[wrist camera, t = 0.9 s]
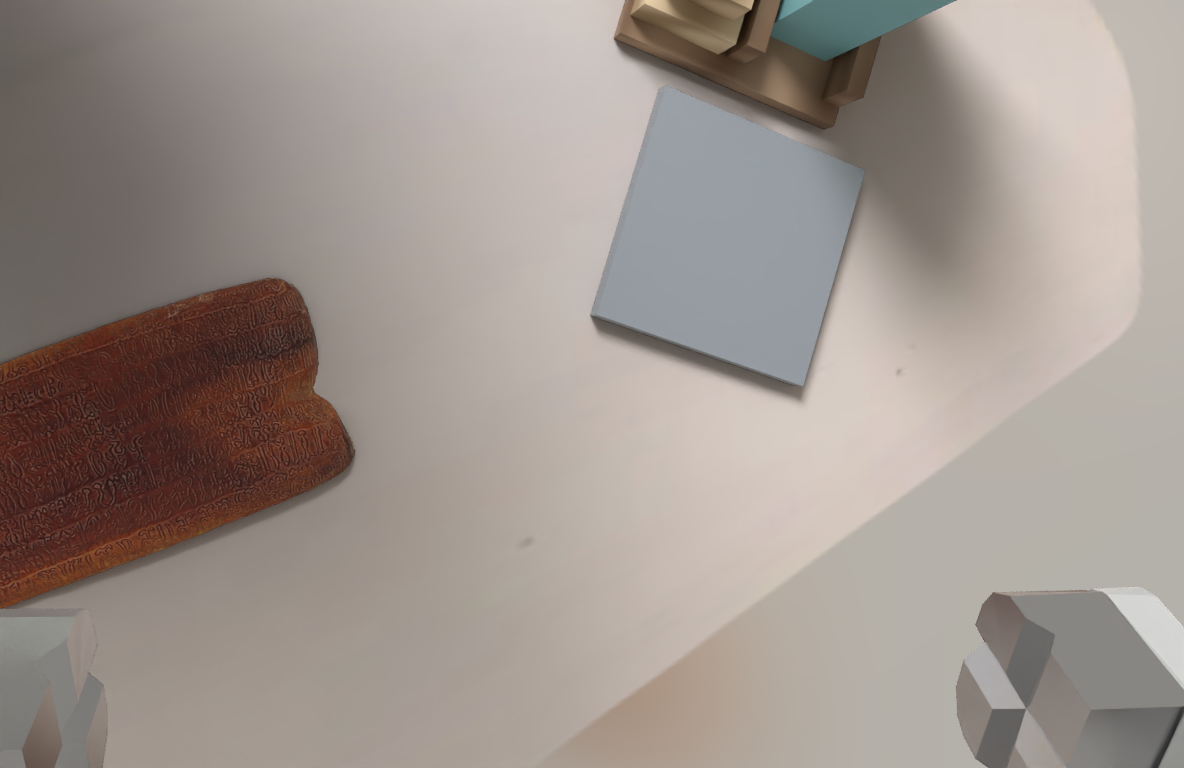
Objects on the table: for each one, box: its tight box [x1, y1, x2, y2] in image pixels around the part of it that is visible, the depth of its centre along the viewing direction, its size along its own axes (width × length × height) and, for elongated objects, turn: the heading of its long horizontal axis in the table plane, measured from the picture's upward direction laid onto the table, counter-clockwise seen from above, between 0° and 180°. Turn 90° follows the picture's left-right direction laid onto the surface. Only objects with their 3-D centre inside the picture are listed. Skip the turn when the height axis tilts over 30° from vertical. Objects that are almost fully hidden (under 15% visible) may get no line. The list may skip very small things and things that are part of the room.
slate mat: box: [591, 86, 865, 386], centre depth 58 cm, size 12×12×1 cm
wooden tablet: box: [0, 278, 355, 609], centre depth 48 cm, size 27×10×2 cm, turn 110°
